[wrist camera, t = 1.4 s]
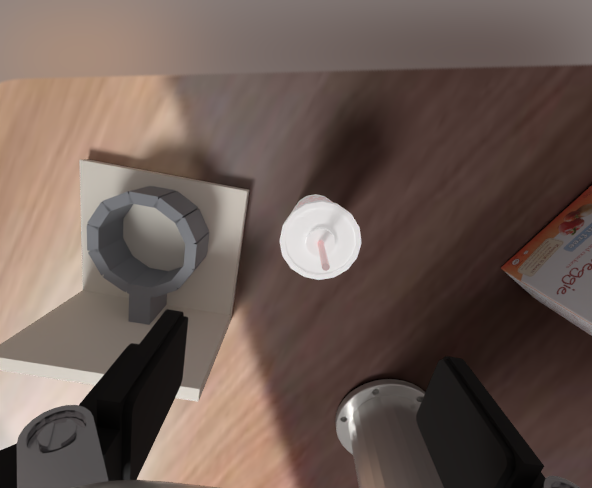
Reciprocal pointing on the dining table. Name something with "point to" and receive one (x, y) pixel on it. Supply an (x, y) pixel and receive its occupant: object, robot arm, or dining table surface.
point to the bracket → (141, 275)
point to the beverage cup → (320, 238)
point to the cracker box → (560, 264)
